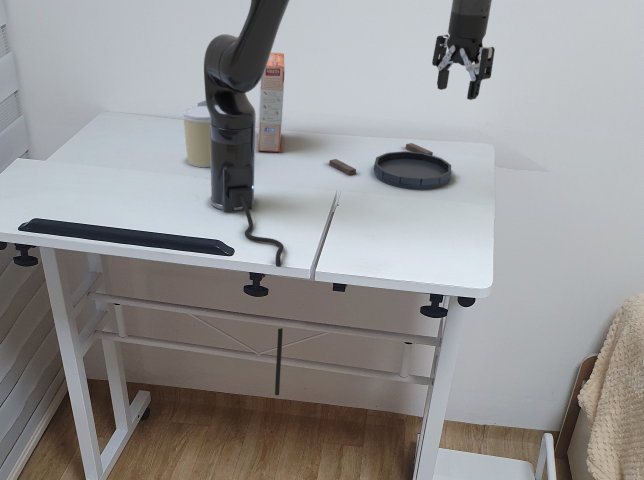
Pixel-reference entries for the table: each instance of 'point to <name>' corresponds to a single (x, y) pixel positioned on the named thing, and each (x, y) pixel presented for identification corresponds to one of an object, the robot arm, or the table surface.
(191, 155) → the coffee cup
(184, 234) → the table surface
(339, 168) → the walnut strips
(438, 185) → the plate
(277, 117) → the cracker box
